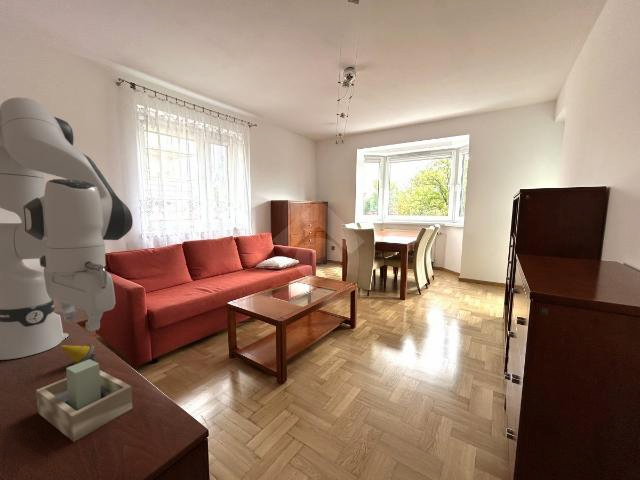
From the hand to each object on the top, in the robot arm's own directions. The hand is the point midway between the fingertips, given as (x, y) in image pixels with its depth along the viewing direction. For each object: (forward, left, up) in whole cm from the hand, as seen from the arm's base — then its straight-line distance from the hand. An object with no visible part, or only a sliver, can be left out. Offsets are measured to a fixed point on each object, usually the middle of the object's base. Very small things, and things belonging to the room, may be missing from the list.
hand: (81, 325), depth 56 cm
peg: (0, 0, -19) cm, 19 cm away
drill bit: (-23, +8, -19) cm, 31 cm away
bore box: (0, 0, -19) cm, 19 cm away
